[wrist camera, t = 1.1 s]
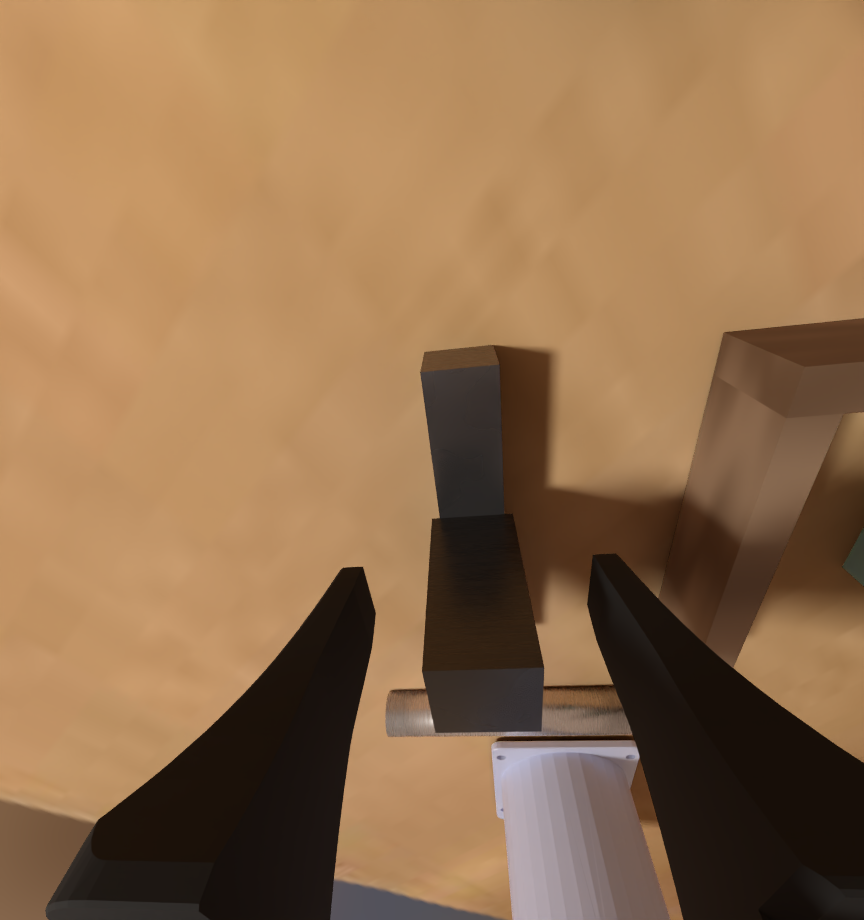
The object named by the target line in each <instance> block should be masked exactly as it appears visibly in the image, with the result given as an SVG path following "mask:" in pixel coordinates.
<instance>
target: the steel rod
mask: <svg viewBox="0 0 864 920" xmlns="http://www.w3.org/2000/svg"><path fill="white" fill-rule="evenodd" d="M386 732H387V735H388V737H443V736H548V735H633V734H632V731H631V728H630V726H629V723H628V720H627V718H626V715H625V713H624V710H623V707H622V705H621V702H620V700H619V697H618V695H617V692H616V689H615V687H572V688H543V709H542V732H474V733H435V729H434V724H433V719H432V715H431V710H430V705H429V701H428V696H427V691H390V692H389V694H388V698H387V704H386Z"/></svg>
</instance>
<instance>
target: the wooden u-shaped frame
mask: <svg viewBox="0 0 864 920" xmlns="http://www.w3.org/2000/svg"><path fill="white" fill-rule="evenodd" d="M858 412H864V319H854V320H845V321H835V322H825V323H815V324H805V325H795V326H785V327H775V328H765V329H755V330H745V331H735V332H725V333H724V334H723V338H722V342H721V346H720V351H719V355H718V359H717V363H716V367H715V371H714V375H713V379H712V383H711V387H710V391H709V395H708V400H707V404H706V408H705V412H704V416H703V420H702V424H701V428H700V432H699V436H698V440H697V444H696V449H695V453H694V457H693V461H692V465H691V469H690V473H689V477H688V481H687V485H686V489H685V493H684V498H683V502H682V506H681V510H680V514H679V518H678V522H677V526H676V530H675V534H674V538H673V542H672V547H671V551H670V555H669V559H668V563H667V567H666V571H665V575H664V579H663V583H662V587H661V592H660V596H659V600H660V601H661V602H662V603H663V604H664V605H665V606H666V607H667V608H668V609H669V610H670V611H671V612H672V613H673V614H674V615H675V616H676V617H677V618H678V619H679V620H680V621H681V622H682V623H683V624H684V625H685V626H686V627H687V628H688V629H690V630H691V631H692V632H693V633H694V634H695V635H696V636H697V637H698V638H699V639H700V640H701V641H703V642H704V643H705V644H706V645H707V646H708V647H709V648H710V649H711V650H713V651H714V652H715V653H716V654H717V655H718V656H719V657H721V658H722V659H723V660H724V661H725V662H726V663H728V664H729V665H730V666H731V667H732V668H733V667H734V665H735V662H736V660H737V658H738V656H739V653H740V651H741V649H742V646H743V644H744V642H745V640H746V637H747V635H748V633H749V630H750V628H751V626H752V623H753V621H754V619H755V617H756V614H757V612H758V610H759V607H760V605H761V603H762V600H763V598H764V596H765V594H766V591H767V589H768V587H769V584H770V582H771V580H772V578H773V575H774V573H775V571H776V568H777V566H778V564H779V561H780V559H781V557H782V555H783V552H784V550H785V548H786V545H787V543H788V541H789V538H790V536H791V534H792V532H793V529H794V527H795V525H796V522H797V520H798V518H799V516H800V513H801V511H802V509H803V506H804V504H805V502H806V499H807V497H808V495H809V493H810V490H811V488H812V486H813V483H814V481H815V479H816V476H817V474H818V472H819V470H820V467H821V465H822V463H823V460H824V458H825V456H826V453H827V451H828V449H829V447H830V444H831V442H832V440H833V437H834V435H835V433H836V431H837V428H838V426H839V424H840V421H841V419H842V417H843V414H846V413H858Z"/></svg>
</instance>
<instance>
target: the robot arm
mask: <svg viewBox="0 0 864 920" xmlns="http://www.w3.org/2000/svg"><path fill="white" fill-rule="evenodd" d="M587 605H588V609H589V613H590V617H591V621H592V625H593V629H594V632H595V636H596V640H597V643H598V645H599V648H600V651H601V653H602V656H603V658H604V661H605V664H606V666H607V669H608V671H609V674H610V677H611V679H612V682H613V684H614V687H615V689H616V692H617V695H618V697H619V700H620V702H621V705H622V707H623V710H624V713H625V715H626V718H627V720H628V723H629V726H630V728H631V731H632V734H633V737H634V740H635V741H634V740H584V741H498V742H494V743H493V744H492V746H491V748H492V761H493V773H494V785H495V797H496V809H497V816H498V817H499V818H501V819H504V823H505V835H506V847H507V858H508V870H509V882H510V894H511V905H512V917H513V920H670V917H669V914H668V910H667V907H666V904H665V901H664V897H663V894H662V891H661V888H660V884H659V881H658V878H657V875H656V872H655V868H654V865H653V862H652V859H651V855H650V852H649V849H648V846H647V842H646V839H645V836H644V833H643V830H642V826H641V823H640V820H639V817H638V813H637V810H636V807H635V804H634V800H633V797H632V794H631V791H630V788H631V784H632V781H633V778H634V774H635V771H636V768H637V764H638V761H639V757H640V760H641V763H642V766H643V770H644V773H645V777H646V780H647V783H648V787H649V791H650V794H651V798H652V801H653V805H654V809H655V812H656V816H657V819H658V823H659V827H660V830H661V834H662V838H663V841H664V845H665V849H666V853H667V857H668V861H669V864H670V868H671V872H672V876H673V880H674V883H675V887H676V891H677V895H678V899H679V904H680V908H681V912H682V916H683V920H864V763H863V762H861V761H860V760H858V759H857V758H855V757H854V756H852V755H851V754H849V753H848V752H846V751H845V750H843V749H842V748H840V747H838V746H837V745H836V744H834V743H833V742H831V741H830V740H828V739H827V738H825V737H824V736H823V735H821V734H820V733H818V732H817V731H816V730H814V729H813V728H811V727H810V726H809V725H807V724H806V723H804V722H803V721H802V720H800V719H799V718H797V717H796V716H795V715H793V714H792V713H790V712H789V711H788V710H786V709H785V708H783V707H782V706H781V705H779V704H778V703H776V702H775V701H774V700H773V699H771V698H770V697H769V696H767V695H766V694H765V693H764V692H762V691H761V690H760V689H758V688H757V687H756V686H754V685H753V684H752V683H751V682H749V681H748V680H747V679H746V678H745V677H743V676H742V675H741V674H740V673H738V672H737V671H736V670H735V669H733V668H732V667H731V666H730V665H729V664H728V663H726V662H725V661H724V660H723V659H722V658H721V657H719V656H718V655H717V654H716V653H715V652H714V651H713V650H711V649H710V648H709V647H708V646H707V645H706V644H705V643H704V642H703V641H701V640H700V639H699V638H698V637H697V636H696V635H695V634H694V633H693V632H692V631H691V630H690V629H688V628H687V627H686V626H685V625H684V624H683V623H682V622H681V621H680V620H679V619H678V618H677V617H676V616H675V615H674V614H673V613H672V612H671V611H670V610H669V609H668V608H667V607H666V606H665V605H664V604H663V603H662V602H661V601H660V600H659V599H658V598H657V597H656V596H655V595H654V594H653V593H652V592H651V591H650V590H649V589H648V587H647V586H646V585H645V584H644V583H643V582H642V581H641V580H640V579H639V578H638V577H637V576H636V575H635V574H634V572H633V571H632V570H631V569H630V568H629V567H628V566H627V565H626V564H625V562H624V561H623V560H622V559H621V558H620V557H619V556H618V555H617V554H598V555H593V559H592V568H591V576H590V585H589V594H588V602H587ZM375 615H376V612H375V609H374V605H373V602H372V598H371V594H370V591H369V587H368V584H367V580H366V576H365V573H364V569H363V567H348V568H342V569H341V570H340V572H339V573H338V575H337V576H336V577H335V579H334V580H333V582H332V583H331V585H330V586H329V588H328V589H327V591H326V592H325V594H324V595H323V597H322V598H321V599H320V601H319V602H318V604H317V605H316V606H315V608H314V609H313V611H312V612H311V613H310V615H309V616H308V617H307V619H306V620H305V621H304V623H303V624H302V626H301V627H300V628H299V630H298V631H297V632H296V633H295V635H294V636H293V637H292V639H291V640H290V641H289V642H288V643H287V645H286V646H285V647H284V648H283V650H282V651H281V652H280V653H279V655H278V656H277V657H276V658H275V660H274V661H273V662H272V663H271V664H270V665H269V667H268V668H267V669H266V670H265V671H264V672H263V673H262V675H261V676H260V677H259V678H258V679H257V680H256V681H255V682H254V683H253V684H252V685H251V687H250V688H249V689H248V690H247V691H246V692H245V693H244V694H243V695H242V696H241V697H240V698H239V699H238V700H237V701H236V702H235V703H234V704H233V705H232V706H231V707H230V708H229V709H228V710H227V711H226V712H225V713H224V714H223V715H222V716H221V717H220V718H219V719H218V720H217V721H216V722H215V723H214V724H213V725H212V726H211V727H210V728H209V729H208V730H207V731H205V732H204V733H203V734H202V735H201V736H200V737H199V738H198V739H197V740H195V741H194V742H193V743H192V744H191V745H190V746H189V747H187V748H186V749H185V750H184V751H183V752H182V753H181V754H180V755H178V756H177V757H176V758H175V759H174V760H173V761H172V762H170V763H169V764H168V765H167V766H166V767H165V768H163V769H162V770H161V771H160V772H159V773H157V774H156V775H155V776H154V777H153V778H151V779H150V780H149V781H148V782H146V783H145V784H144V785H142V786H141V787H140V788H139V789H137V790H136V791H135V792H134V793H132V794H131V795H130V796H128V797H127V798H126V799H125V800H123V801H122V802H121V803H119V804H118V805H117V806H116V807H114V808H113V809H112V810H111V811H109V812H108V813H107V814H105V815H104V816H103V817H101V818H100V819H99V820H98V821H97V823H96V824H95V826H94V827H93V829H92V830H91V832H90V834H89V835H88V837H87V838H86V840H85V842H84V843H83V845H82V847H81V848H80V850H79V852H78V854H77V855H76V857H75V859H74V860H73V862H72V864H71V866H70V867H69V869H68V871H67V873H66V874H65V876H64V878H63V880H62V881H61V883H60V884H59V886H58V888H57V890H56V891H55V893H54V895H53V896H52V898H51V900H50V901H49V903H48V905H47V907H46V917H47V918H48V919H49V920H330V914H331V903H332V892H333V881H334V872H335V863H336V853H337V844H338V835H339V826H340V818H341V810H342V802H343V794H344V786H345V779H346V772H347V765H348V758H349V750H350V744H351V739H352V734H353V729H354V724H355V720H356V715H357V711H358V707H359V702H360V698H361V694H362V689H363V685H364V681H365V676H366V672H367V667H368V663H369V659H370V654H371V649H372V642H373V634H374V625H375Z"/></svg>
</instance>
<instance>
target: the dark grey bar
mask: <svg viewBox="0 0 864 920" xmlns="http://www.w3.org/2000/svg"><path fill="white" fill-rule="evenodd" d="M420 373H421V381H422V388H423V395H424V403H425V410H426V418H427V425H428V433H429V440H430V448H431V455H432V462H433V470H434V477H435V485H436V492H437V500H438V507H439V514H440V518H437V519H432V528H431V544H430V559H429V574H428V590H427V605H426V620H425V635H424V651H423V666H422V673H423V678H424V682H425V687H426V691H427V696H428V701H429V705H430V710H431V715H432V719H433V724H434V729H435V733H474V732H542V709H543V684H544V665H543V660H542V655H541V650H540V645H539V640H538V635H537V630H536V626H535V621H534V616H533V611H532V606H531V601H530V596H529V591H528V587H527V582H526V577H525V572H524V567H523V562H522V557H521V552H520V548H519V543H518V538H517V533H516V528H515V523H514V518H513V514H504V487H503V456H502V425H501V394H500V364H499V361H498V358H497V355H496V352H495V349H494V346H493V345H488V346H479V347H469V348H459V349H449V350H440V351H430V352H424V357H423V362H422V367H421V372H420Z"/></svg>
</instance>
